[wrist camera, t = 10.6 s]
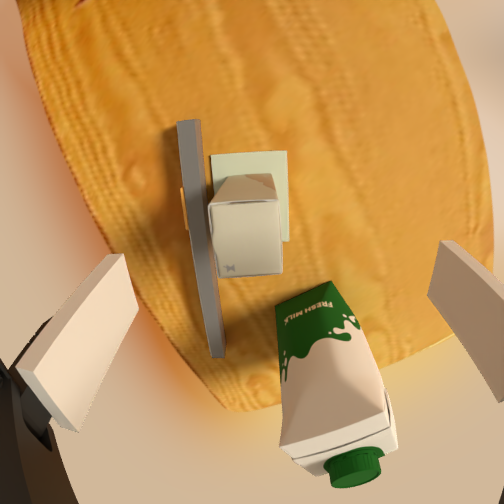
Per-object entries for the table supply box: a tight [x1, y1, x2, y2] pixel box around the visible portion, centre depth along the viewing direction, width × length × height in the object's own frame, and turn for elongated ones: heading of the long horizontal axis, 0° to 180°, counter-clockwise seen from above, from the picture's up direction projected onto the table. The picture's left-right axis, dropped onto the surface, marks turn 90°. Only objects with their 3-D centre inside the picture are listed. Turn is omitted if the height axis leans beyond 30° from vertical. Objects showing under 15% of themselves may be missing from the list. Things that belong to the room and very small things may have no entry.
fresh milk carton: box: [275, 281, 398, 488], centre depth 25 cm, size 9×9×20 cm
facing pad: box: [211, 150, 289, 242], centre depth 28 cm, size 9×7×1 cm
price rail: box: [177, 119, 226, 358], centre depth 29 cm, size 26×2×2 cm, turn 3°
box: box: [208, 173, 283, 278], centre depth 23 cm, size 5×4×11 cm
